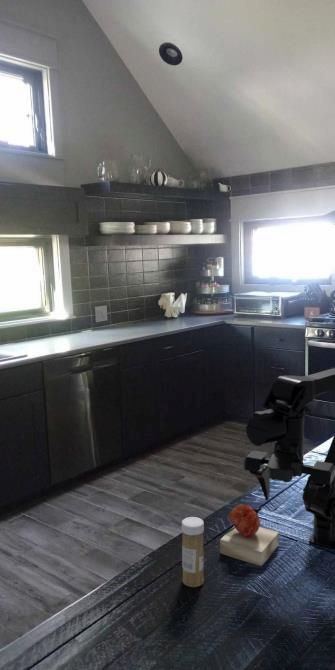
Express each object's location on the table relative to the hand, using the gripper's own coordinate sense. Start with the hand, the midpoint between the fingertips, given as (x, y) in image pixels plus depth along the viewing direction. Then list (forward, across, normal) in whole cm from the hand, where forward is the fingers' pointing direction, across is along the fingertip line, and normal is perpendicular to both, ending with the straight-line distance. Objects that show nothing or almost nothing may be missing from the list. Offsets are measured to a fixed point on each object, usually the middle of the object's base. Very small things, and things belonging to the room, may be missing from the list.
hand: (287, 503), depth 124 cm
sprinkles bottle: (+13, -15, -17) cm, 26 cm away
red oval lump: (+10, -10, 0) cm, 14 cm away
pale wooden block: (+14, -9, 0) cm, 16 cm away
